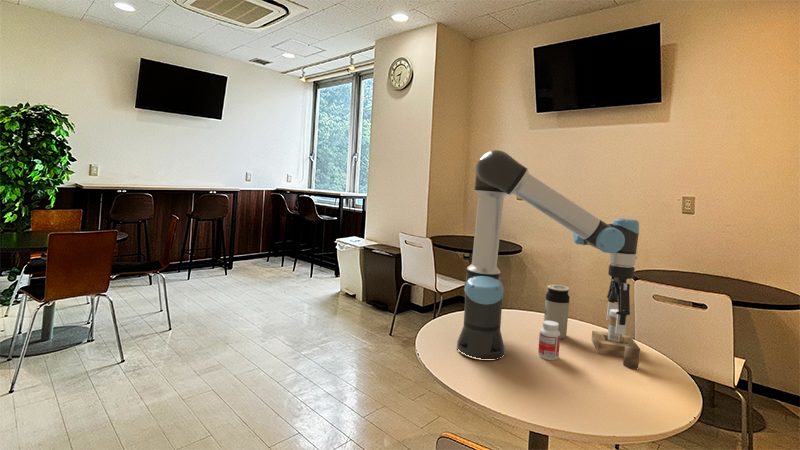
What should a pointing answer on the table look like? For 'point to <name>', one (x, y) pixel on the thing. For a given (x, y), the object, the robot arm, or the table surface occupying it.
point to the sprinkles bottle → (613, 328)
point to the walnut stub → (631, 356)
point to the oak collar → (610, 344)
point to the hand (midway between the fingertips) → (615, 327)
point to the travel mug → (557, 307)
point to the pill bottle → (549, 340)
